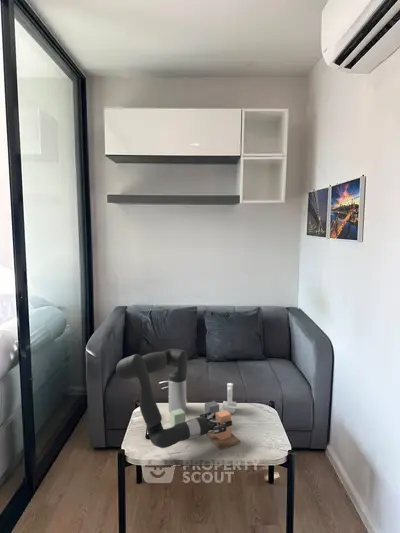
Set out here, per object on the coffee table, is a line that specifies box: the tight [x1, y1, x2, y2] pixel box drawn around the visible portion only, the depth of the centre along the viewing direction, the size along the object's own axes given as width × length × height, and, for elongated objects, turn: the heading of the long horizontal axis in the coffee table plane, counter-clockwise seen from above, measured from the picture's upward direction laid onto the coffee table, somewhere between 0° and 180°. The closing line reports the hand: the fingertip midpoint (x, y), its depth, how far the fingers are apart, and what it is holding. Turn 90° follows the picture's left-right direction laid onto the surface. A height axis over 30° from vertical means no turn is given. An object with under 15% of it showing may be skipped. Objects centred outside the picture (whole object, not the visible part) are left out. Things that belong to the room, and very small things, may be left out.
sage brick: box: [170, 409, 186, 428], centre depth 175 cm, size 4×6×11 cm
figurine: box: [222, 382, 238, 414], centre depth 198 cm, size 7×9×15 cm
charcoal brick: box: [204, 400, 220, 420], centre depth 183 cm, size 4×6×11 cm
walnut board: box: [205, 430, 241, 450], centre depth 171 cm, size 13×10×2 cm
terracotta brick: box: [215, 409, 232, 440], centre depth 171 cm, size 4×6×11 cm
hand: (226, 418), depth 171 cm, fingers open, 8 cm apart
